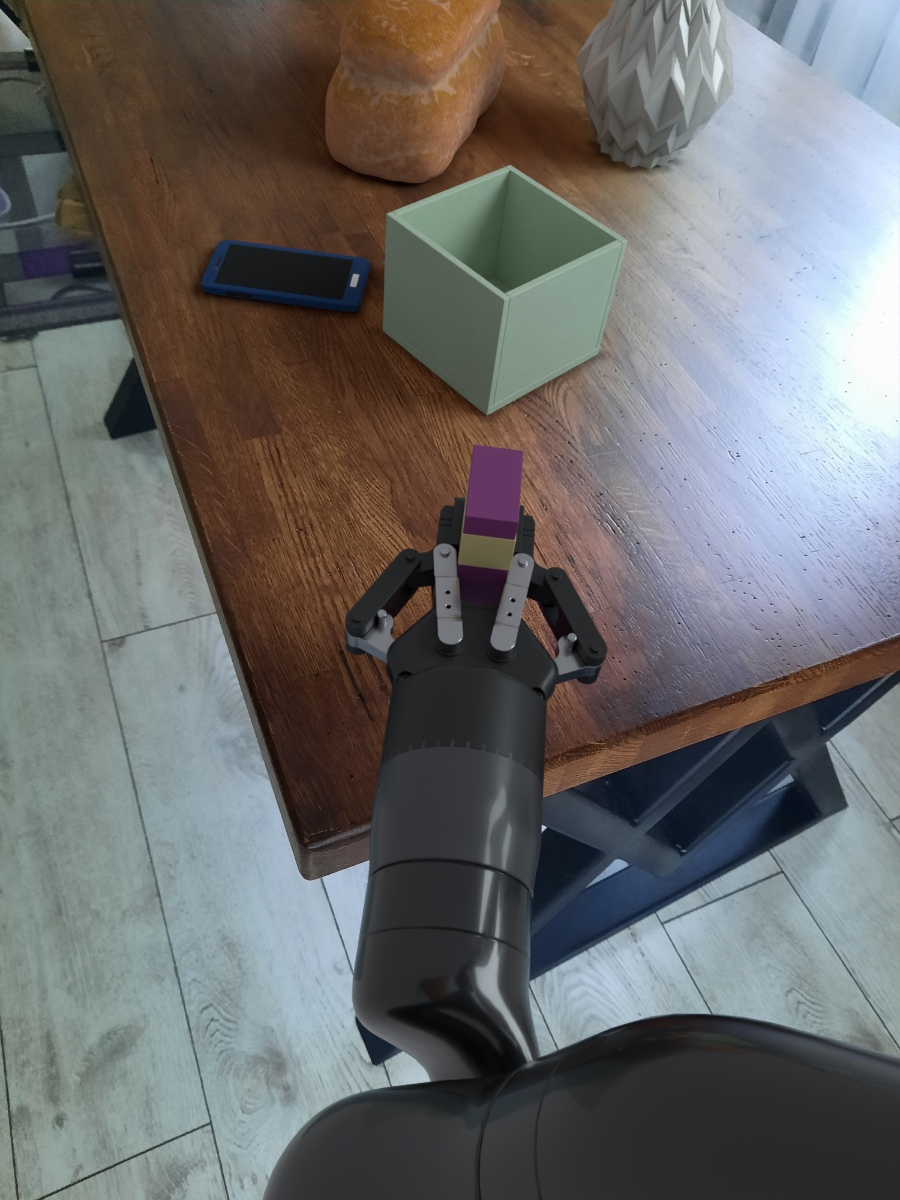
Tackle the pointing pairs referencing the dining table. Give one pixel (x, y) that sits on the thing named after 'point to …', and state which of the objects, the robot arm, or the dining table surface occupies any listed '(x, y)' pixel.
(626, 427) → the dining table surface
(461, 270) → the open storage box
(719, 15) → the vase
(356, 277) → the cell phone
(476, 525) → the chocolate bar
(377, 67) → the bread
